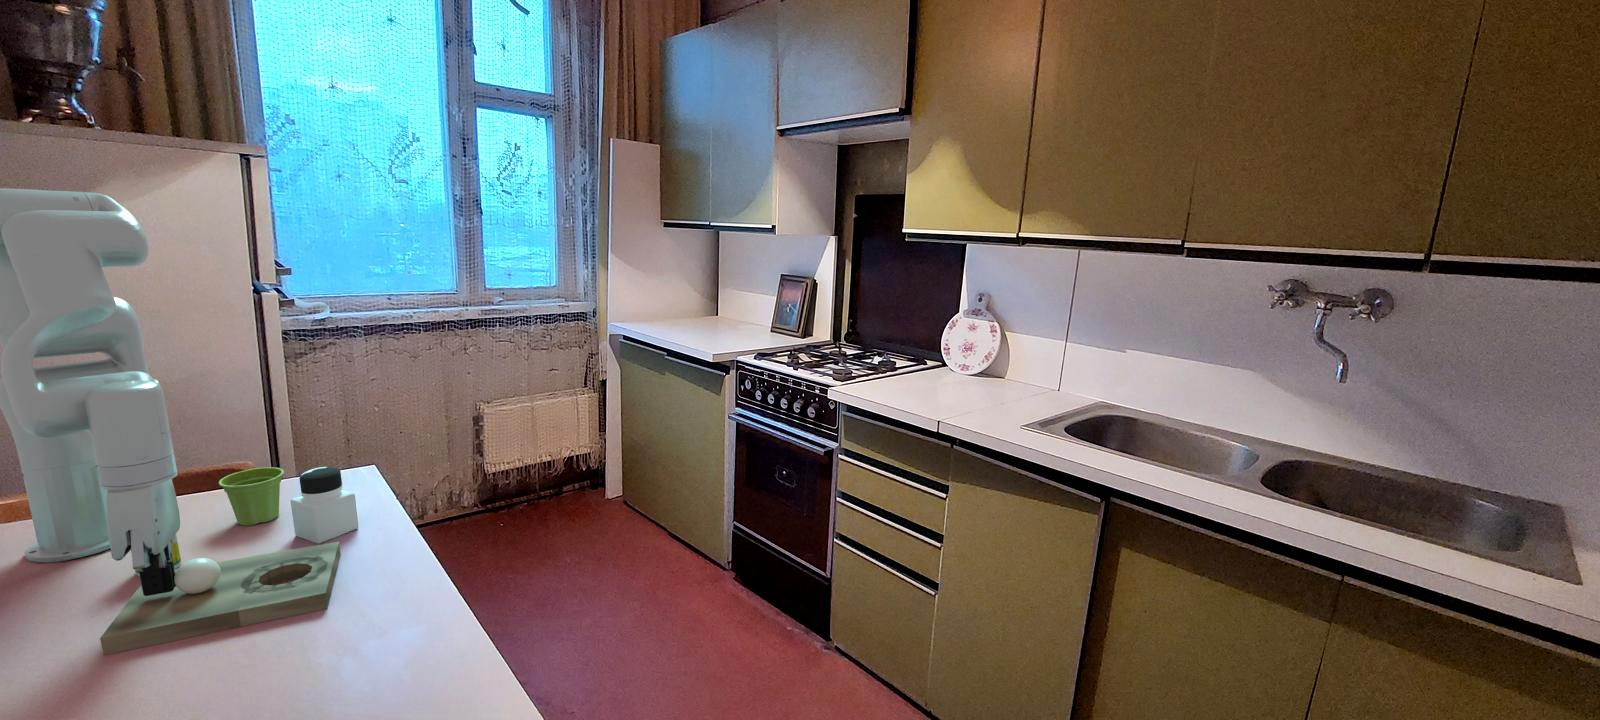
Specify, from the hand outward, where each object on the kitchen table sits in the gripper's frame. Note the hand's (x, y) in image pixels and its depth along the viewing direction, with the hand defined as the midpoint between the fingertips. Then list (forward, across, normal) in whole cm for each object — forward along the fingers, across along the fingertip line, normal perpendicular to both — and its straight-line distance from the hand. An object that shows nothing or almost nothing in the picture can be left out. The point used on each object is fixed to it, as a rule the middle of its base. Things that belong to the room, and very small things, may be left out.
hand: (160, 590), depth 95 cm
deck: (+4, 0, +8) cm, 9 cm away
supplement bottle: (+4, -16, -5) cm, 17 cm away
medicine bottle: (+4, -20, +17) cm, 27 cm away
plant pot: (+4, -32, +5) cm, 33 cm away
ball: (-2, 0, +4) cm, 5 cm away
